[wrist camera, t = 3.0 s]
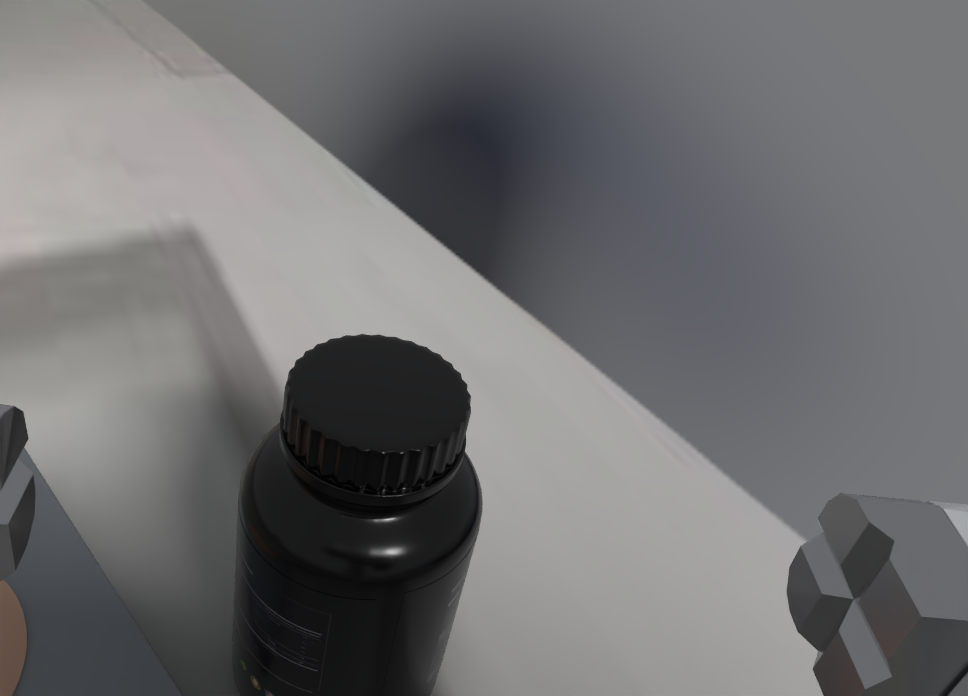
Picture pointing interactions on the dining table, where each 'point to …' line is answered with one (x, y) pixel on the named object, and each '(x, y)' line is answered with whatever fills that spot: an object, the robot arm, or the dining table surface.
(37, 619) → the mat
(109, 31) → the dining table surface
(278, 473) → the supplement bottle
